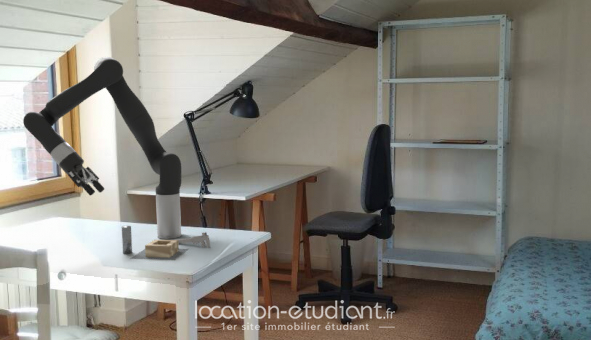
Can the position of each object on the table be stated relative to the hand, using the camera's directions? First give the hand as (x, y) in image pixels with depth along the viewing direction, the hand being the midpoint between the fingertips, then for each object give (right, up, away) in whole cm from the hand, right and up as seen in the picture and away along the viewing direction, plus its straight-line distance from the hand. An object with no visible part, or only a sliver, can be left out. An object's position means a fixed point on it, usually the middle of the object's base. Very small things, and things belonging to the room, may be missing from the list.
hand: (97, 192), depth 229 cm
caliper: (+29, -21, +13) cm, 38 cm away
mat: (+22, -22, 0) cm, 31 cm away
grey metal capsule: (+10, -22, +2) cm, 24 cm away
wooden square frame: (+23, -22, -1) cm, 31 cm away
